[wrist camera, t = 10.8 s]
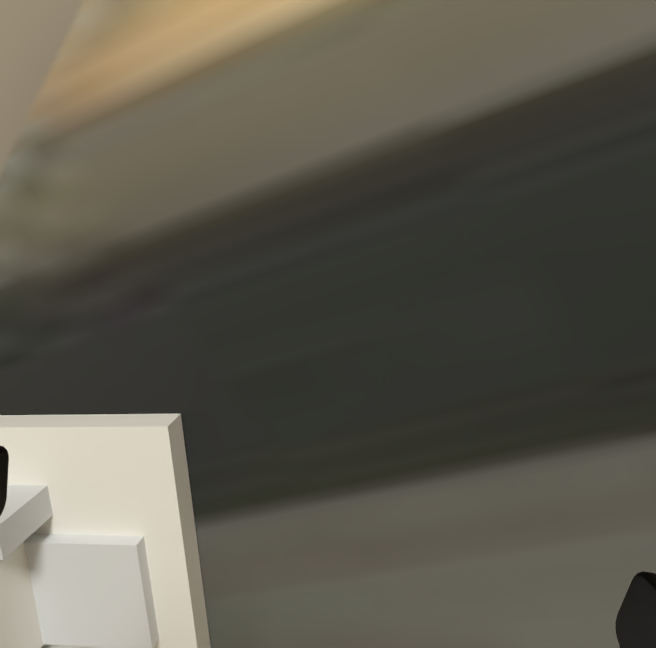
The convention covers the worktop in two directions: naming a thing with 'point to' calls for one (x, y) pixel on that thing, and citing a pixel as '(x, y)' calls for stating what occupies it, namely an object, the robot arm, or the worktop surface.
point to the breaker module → (18, 603)
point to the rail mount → (105, 529)
